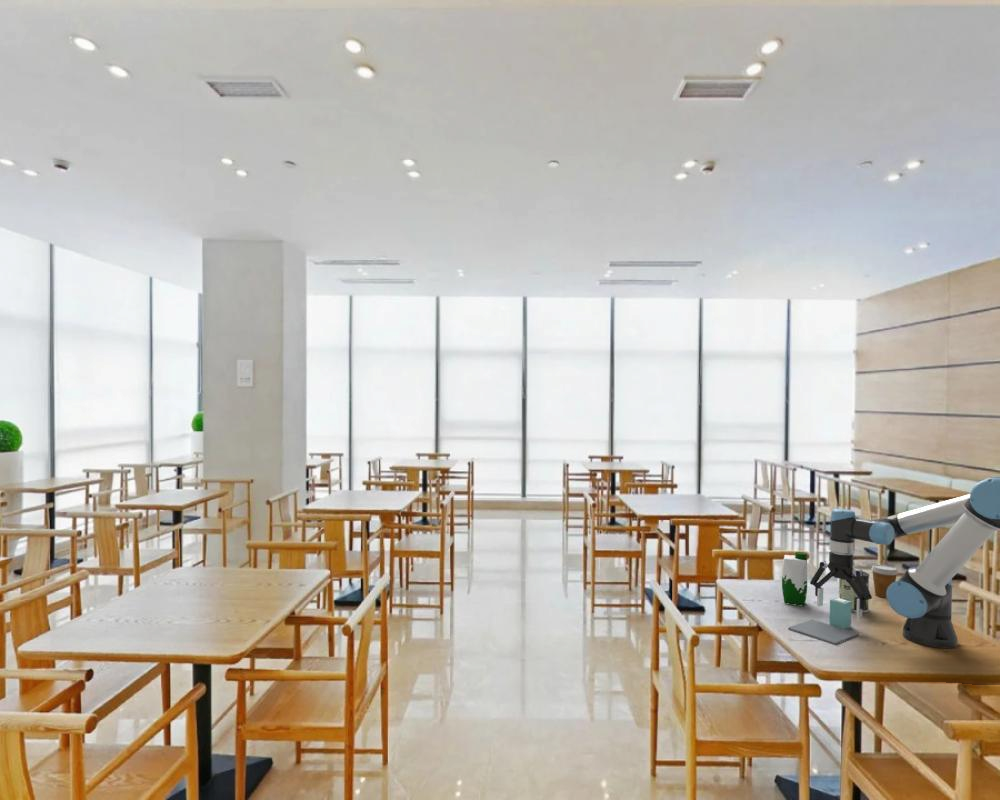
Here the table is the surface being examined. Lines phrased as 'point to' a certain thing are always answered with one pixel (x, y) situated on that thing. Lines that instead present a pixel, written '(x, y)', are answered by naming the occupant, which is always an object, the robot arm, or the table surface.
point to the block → (840, 613)
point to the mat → (823, 631)
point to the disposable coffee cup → (883, 578)
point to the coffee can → (852, 592)
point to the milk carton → (794, 578)
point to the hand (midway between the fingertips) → (839, 611)
